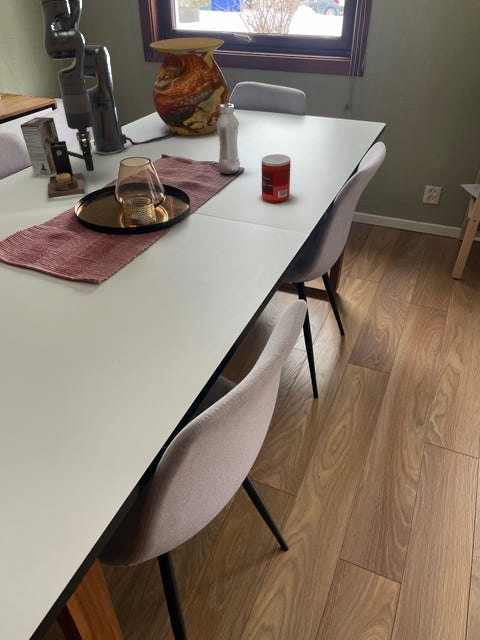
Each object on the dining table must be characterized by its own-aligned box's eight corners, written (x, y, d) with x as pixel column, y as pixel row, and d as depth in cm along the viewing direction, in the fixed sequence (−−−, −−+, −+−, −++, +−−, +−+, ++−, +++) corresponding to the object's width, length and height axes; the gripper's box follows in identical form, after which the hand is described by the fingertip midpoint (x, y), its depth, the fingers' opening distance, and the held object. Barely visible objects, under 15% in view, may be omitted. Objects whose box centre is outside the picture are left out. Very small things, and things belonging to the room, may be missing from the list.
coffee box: (48, 167, 165) (35, 116, 156) (66, 168, 164) (54, 117, 155) (34, 177, 158) (19, 124, 149) (52, 178, 157) (38, 125, 148)
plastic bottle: (218, 169, 159) (214, 103, 147) (239, 168, 159) (237, 102, 147) (219, 177, 154) (215, 108, 142) (241, 175, 154) (239, 107, 142)
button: (71, 178, 146) (70, 172, 145) (71, 183, 143) (70, 177, 142) (57, 180, 145) (55, 174, 144) (57, 184, 142) (55, 178, 141)
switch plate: (84, 186, 151) (81, 173, 148) (85, 196, 144) (82, 182, 142) (49, 190, 148) (46, 177, 146) (49, 200, 142) (45, 187, 140)
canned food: (292, 193, 141) (293, 155, 135) (285, 205, 135) (286, 164, 129) (266, 191, 143) (266, 152, 137) (258, 202, 137) (257, 162, 131)
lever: (89, 160, 154) (91, 153, 153) (90, 166, 150) (92, 158, 149) (53, 149, 149) (55, 142, 148) (53, 155, 146) (55, 147, 144)
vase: (189, 115, 214) (183, 35, 196) (244, 124, 200) (242, 39, 182) (142, 132, 195) (129, 45, 177) (198, 144, 181) (191, 51, 163)
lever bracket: (82, 176, 158) (74, 138, 151) (83, 185, 151) (74, 145, 144) (51, 180, 156) (41, 141, 149) (50, 189, 149) (40, 149, 142)
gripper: (92, 113, 138) (104, 173, 148) (89, 102, 149) (100, 158, 159) (64, 116, 136) (78, 177, 147) (64, 104, 148) (76, 161, 158)
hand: (90, 167), depth 153 cm, fingers closed on lever, 5 cm apart
